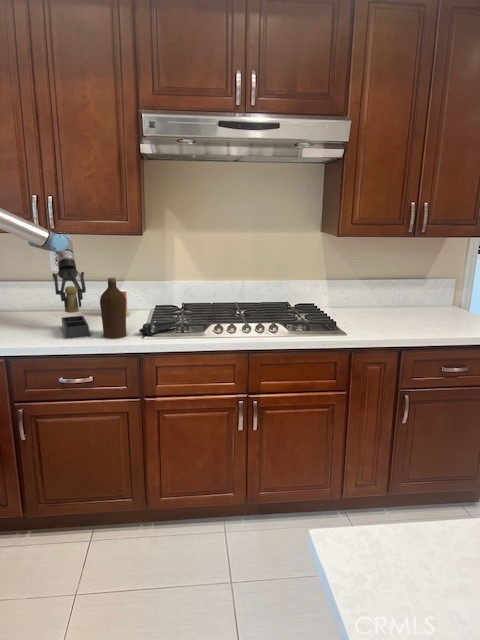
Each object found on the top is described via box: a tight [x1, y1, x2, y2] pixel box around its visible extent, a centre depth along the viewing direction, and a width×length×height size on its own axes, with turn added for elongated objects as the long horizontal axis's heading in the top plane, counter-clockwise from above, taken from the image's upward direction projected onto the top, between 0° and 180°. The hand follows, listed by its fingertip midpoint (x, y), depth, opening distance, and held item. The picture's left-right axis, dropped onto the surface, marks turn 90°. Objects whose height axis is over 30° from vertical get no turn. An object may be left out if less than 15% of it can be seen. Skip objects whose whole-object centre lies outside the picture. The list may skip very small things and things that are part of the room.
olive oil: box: [99, 277, 127, 340], centre depth 196 cm, size 11×11×25 cm
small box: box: [118, 288, 128, 318], centre depth 230 cm, size 8×6×13 cm
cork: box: [64, 285, 80, 314], centre depth 204 cm, size 6×6×11 cm
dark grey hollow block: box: [61, 315, 90, 340], centre depth 203 cm, size 9×18×5 cm, turn 25°
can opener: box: [138, 320, 177, 336], centre depth 204 cm, size 18×7×6 cm, turn 131°
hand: (73, 306), depth 201 cm, fingers closed on cork, 5 cm apart
